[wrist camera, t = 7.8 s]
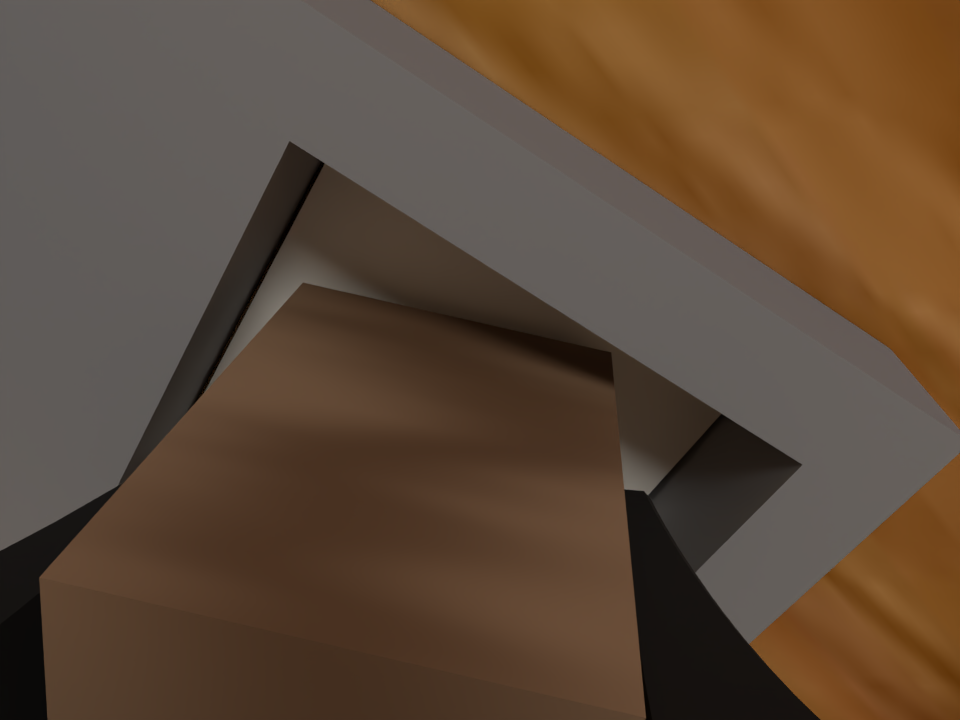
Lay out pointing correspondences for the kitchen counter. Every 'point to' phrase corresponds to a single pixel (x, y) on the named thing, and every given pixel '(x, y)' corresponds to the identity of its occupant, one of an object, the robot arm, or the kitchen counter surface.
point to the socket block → (404, 272)
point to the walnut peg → (363, 536)
